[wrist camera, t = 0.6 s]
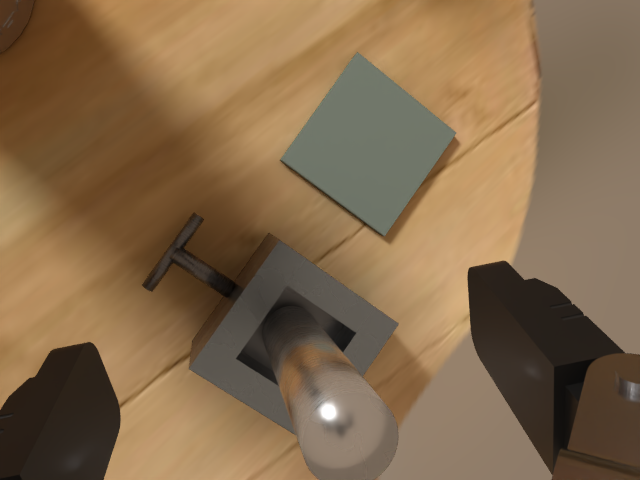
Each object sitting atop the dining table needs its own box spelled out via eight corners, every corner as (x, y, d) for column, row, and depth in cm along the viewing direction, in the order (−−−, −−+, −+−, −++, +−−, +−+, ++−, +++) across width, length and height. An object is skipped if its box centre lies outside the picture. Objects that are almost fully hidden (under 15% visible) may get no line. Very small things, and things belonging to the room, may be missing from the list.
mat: (280, 160, 34) (281, 159, 33) (355, 54, 34) (357, 52, 33) (381, 235, 35) (384, 236, 35) (452, 134, 36) (456, 132, 35)
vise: (130, 301, 33) (114, 322, 27) (209, 191, 33) (208, 190, 28) (298, 408, 35) (314, 446, 30) (370, 304, 35) (398, 323, 30)
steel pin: (251, 342, 31) (282, 457, 17) (284, 295, 31) (340, 373, 18) (297, 371, 32) (361, 505, 18) (329, 325, 32) (416, 424, 18)
